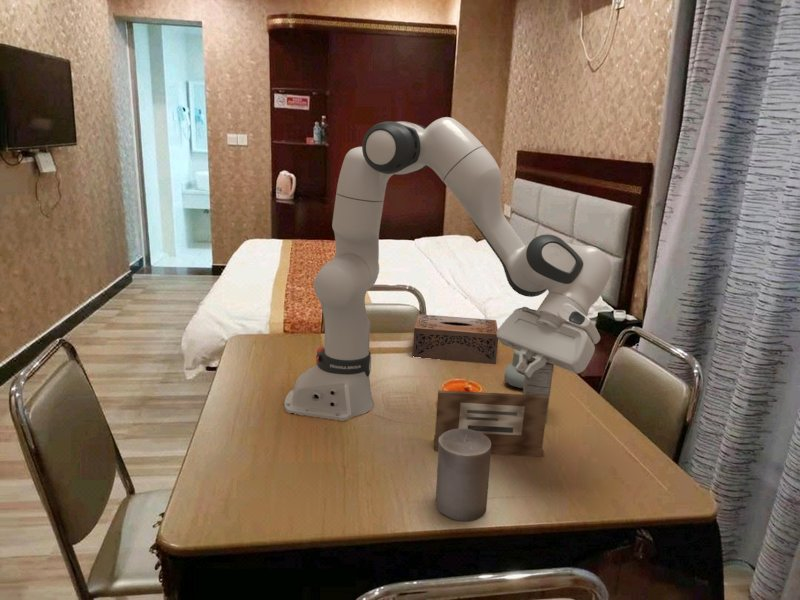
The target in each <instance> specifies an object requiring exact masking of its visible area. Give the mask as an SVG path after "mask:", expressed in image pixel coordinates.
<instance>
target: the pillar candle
mask: <svg viewBox="0 0 800 600" xmlns="http://www.w3.org/2000/svg"><path fill="white" fill-rule="evenodd" d="M438 442H439V451H437V452H438V454H437V469H436V485H435V488H436V489H435V501H434V502H435V507H436V509H437V511H438V512H439V513H441V514H442V515H444V516H446V517H448V518H449V519H452V520H453V521H454V520H455V521H458V522H459V521H460V522H468V521H473V520H477V519H480V517H482V516H483V515H484V514H485V512H487V505H488V495H489V494H488V493H489V481H490V468H491V456H492V454H491V441H490V440H489V438H488V437H487V436H486V435H484V434H482V433H480V432H478V431H474V430H471V429H452V430H449V431H446V432H445V433H443V434H442V435H441V436H440V437H439V440H438Z"/></svg>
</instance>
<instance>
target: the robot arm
mask: <svg viewBox="0 0 800 600" xmlns="http://www.w3.org/2000/svg"><path fill="white" fill-rule="evenodd" d="M428 167H429V168H430V169H432V171H433V172H435V174H436V175H437V177H439V179H440V180H441V181H442V182H443V183H444V185H445V186H446V187H447V188H448V190H449V191H450V192H451V193H452V195H454V198H456V199H457V201H458V202H459V203H460V204H461V206H462V207H463V209H464V210H465V212H466V214H467V215H468V216H469V218H470V219H471V221H472V223H473V224H474V226H475V227H476V229H477V230H478V232H479V233H480V234H481V236H482V238H483V239H484V240H485V241H486V243H487V244H488V246H489V247H490V249H491V250H492V251H493V253H494V254H495V255H496V257H497V258H498V260H499V262H500V263H501V265H502V267H503V270H504V271H503V272H504V274H505V277H506V280H507V282H508V284H509V286H510V288H511V289H512V290H513V291H514V292H516V293H517V294H518V295H521V296H524V297H528V298H530V297H531V298H534V297H538V296H540V295H543V294H544V293H546V292H547V291H548V293H547V295H546V296H545V298H544V299H543V300H542V302H541V303H540V305H539V307H538V308H537V309H531V308H529V307H527V306H522V307H519V308H516V309H514V310H513V312H512V313H511V314H510V315H509V316H508V317H507V318H506V319H505V320H504V322H502V324H501V325H500V327H499V328H498V330H497V338H498V342H500V343H501V344H502V345H504V346H506V347H508V348H511V349H514V350H518V351H520V353H519V363H518V365H517V366H516V368H515V370H516V371H517V372H518V373H520V374H523V375H525V376H527V377H531V375H532V374H533V372H534V371H536V370H538V369H540V368H541V367H543V366H544V365H545V364H546V362H549V363H551V364H554V366H556V367H560V368H562V369H565V370H567V371H569V372H570V373H571V372H572V373H574V374H581V373H582V372H584V371H585V370H586V368H587V367H588V365H589V363H590V362H591V360H592V358H593V355H594V353H595V350H596V346H595V345H597V344H598V343H599V342H600V340H601V336H600V333H599V332H598V329H597V327H596V326H595V324H594V322H593V321H592V320H591V319H590V318H589V317H588V315H589V311H590V309H591V307H592V306H593V305H594V304H596V302H597V301H598V300H599V298H600V297H601V295H602V293H603V292H604V290H605V289H606V286H607V285H608V282H609V281H610V278H611V275H612V269H613V268H612V262H611V260H610V258H609V257H608V256H607V255H606V253H604V252H603V251H602V250H601V249H600V248H597V247H595V246H593V245H576V244H573V243H569V242H568V241H565V240H563V239H562V238H561V237H559V236H556V235H553V234H549V233H548V234H547V233H546V234H542V235H541V234H540V235H538V236H536V237H534V238H533V239H532V240H531V241H530V242H529V243H527V244H525V243H524V242H523V241H522V239H521V238H520V237H519V235H518V233H517V232H516V231H515V230H514V228H513V227H512V225H511V224H510V222H509V221H508V220H507V217H506V216H505V214H504V211H503V207H502V185H503V176H502V175H503V174H502V171H501V168H500V167H499V165H498V162H497V161H496V159H495V158H494V156H493V155H492V154H491V153H490V152H489V150H488V149H487V148H486V147H485V146H484V145H483V143H481V141H480V140H479V139H478V138H477V137H476V136H475V135H474V134H473V133H472V132H471V131H470V130H469V128H467V127H465V126H464V125H463V124H462V123H460V122H459V121H458V120H456V119H455V118H452V117H449V116H445V117H440V118H438V119H435V120H434V121H432V122H431V123H430V124H429V125H428V126H426V127H425V126H424V125H421V124H418V123H413V122H409V121H404V120H403V121H389V120H388V121H383V122H379V123H376V124H374V125H373V126H371V127H370V128H369V129H367V132H366V133H365V135H364V137H363V139H362V143H361V146H357V147H353V148H351V149H349V151H347V153H346V154H345V156H344V159H343V162H342V165H341V169H340V171H339V177H338V179H337V180H338V181H337V186H336V193H335V200H334V207H333V215H332V224H331V226H332V230H333V233H334V241H335V253H334V256H333V258H332V259H331V260H329V261H327V262H326V263H324V264H323V265H322V266H321V268H320V269H319V270H318V272H317V274H316V275H315V278H314V281H313V291H314V293H315V296H316V298H317V299H318V300H319V301H320V305H321V311H322V314H323V321H324V322H323V323H324V346H318V348H317V349H316V355H315V356H316V358H315V359H316V360H315V361H316V362H315V363H316V364H314V365H313V366H311V367H309V368H308V369H307V370H305V371H304V372H302V373H300V375H299V376H298V378H297V379H296V382H295V384H294V387H293V389H291V390H290V391H289V392H288V394H287V395H286V397H285V399H284V403H283V408H285V409H284V411H285V410H286V411H287V412H288V413H287V412H286V411H285V412H286V413H287V414H290V413H294V414H293V415H296V414H300V415H299V416H303V415H306V416H305V417H310V416H315V417H314V418H317V417H320V418H319V419H323V418H328V419H327V420H330V419H336V420H335V421H337V420H341V421H340V422H345V421H344V420H346V421H348V420H350V419H351V418H353V417H356V416H360V414H361V415H364V414H365V413H368V412H370V411H371V410H372V409H373V408H374V406H375V405H374V404H375V402H374V399H373V395H372V392H371V391H372V390H371V382H370V374H371V371H372V370H371V369H372V357H371V355H372V353H371V351H370V337H371V336H370V335H371V334H370V333H371V322H370V320H369V319H368V314H367V308H366V302H365V301H366V294H367V292H368V291H369V290H370V289H371V288H372V287H373V286H374V285H375V284H376V282H377V279H378V277H379V273H380V263H379V262H380V261H379V258H380V250H379V247H380V246H379V242H380V238H379V237H380V228H381V221H382V215H383V209H384V200H385V195H386V189H387V184H388V181H390V180H389V179H390V178H391V177H392V176H394V175H407V174H410V173H411V174H412V173H419V172H420V171H423V170H424V169H426V168H428ZM531 356H533V357H535V359H536V360H535V361H534V362H532V363H531V364H529V365H527V364H526V360H527V359H528V360H529V359H530V358H531ZM307 415H308V416H307ZM321 417H322V418H321ZM349 418H350V419H349ZM347 419H348V420H347Z"/></svg>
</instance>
